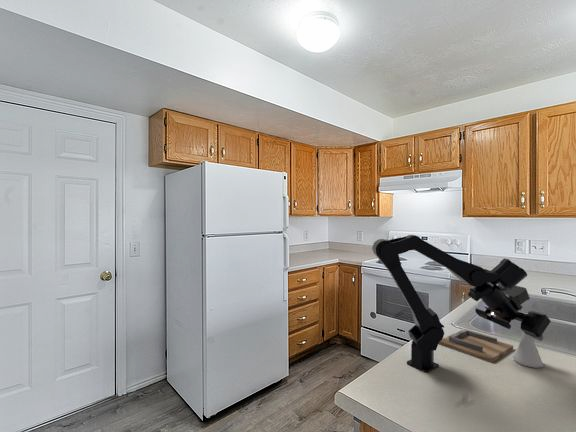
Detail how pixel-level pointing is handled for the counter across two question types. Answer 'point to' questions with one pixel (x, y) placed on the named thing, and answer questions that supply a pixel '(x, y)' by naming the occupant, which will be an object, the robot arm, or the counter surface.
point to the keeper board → (477, 345)
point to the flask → (527, 352)
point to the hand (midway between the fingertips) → (524, 333)
